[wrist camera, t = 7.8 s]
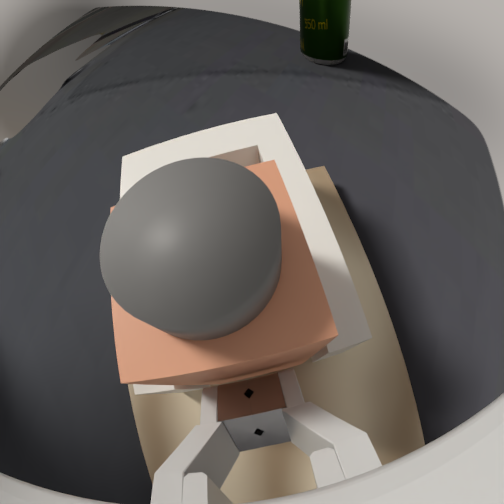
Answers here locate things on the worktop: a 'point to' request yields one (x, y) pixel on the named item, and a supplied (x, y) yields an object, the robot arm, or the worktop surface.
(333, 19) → the beer can
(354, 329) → the socket
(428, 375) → the worktop surface
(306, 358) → the plug
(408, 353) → the worktop surface
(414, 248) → the worktop surface
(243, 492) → the base board
